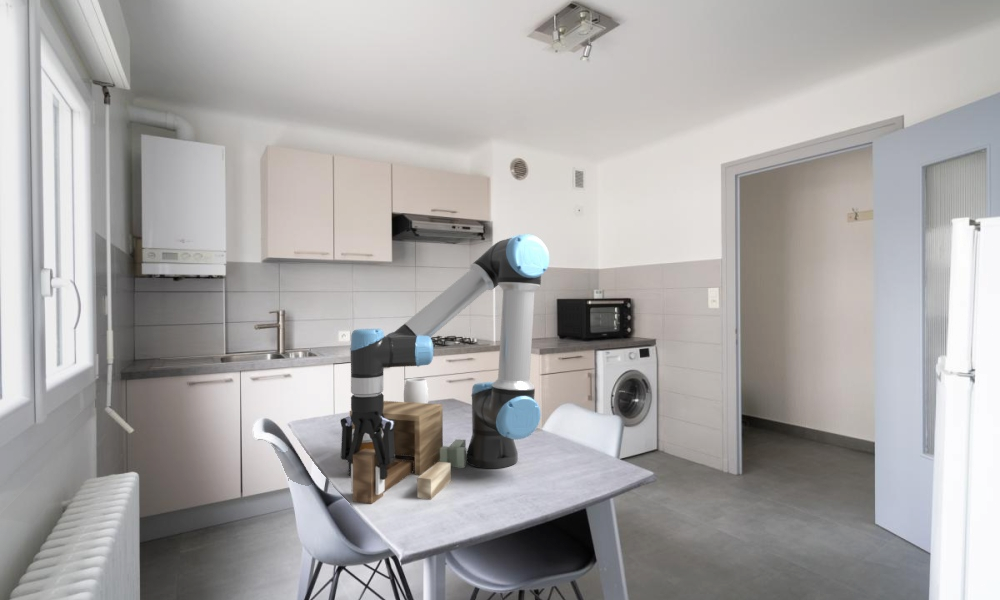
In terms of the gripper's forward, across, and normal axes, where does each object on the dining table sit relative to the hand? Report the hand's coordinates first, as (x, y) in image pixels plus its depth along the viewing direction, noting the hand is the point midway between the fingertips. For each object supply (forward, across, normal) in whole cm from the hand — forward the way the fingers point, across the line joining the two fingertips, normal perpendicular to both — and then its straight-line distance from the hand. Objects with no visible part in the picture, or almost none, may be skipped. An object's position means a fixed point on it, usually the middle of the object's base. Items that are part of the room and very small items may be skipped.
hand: (367, 490), depth 115 cm
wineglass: (+2, +10, -45) cm, 46 cm away
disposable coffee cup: (+2, +10, -14) cm, 17 cm away
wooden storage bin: (+2, +6, -26) cm, 26 cm away
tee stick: (+2, -10, -31) cm, 33 cm away
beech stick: (+2, -13, -10) cm, 16 cm away
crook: (+2, +5, -9) cm, 11 cm away
